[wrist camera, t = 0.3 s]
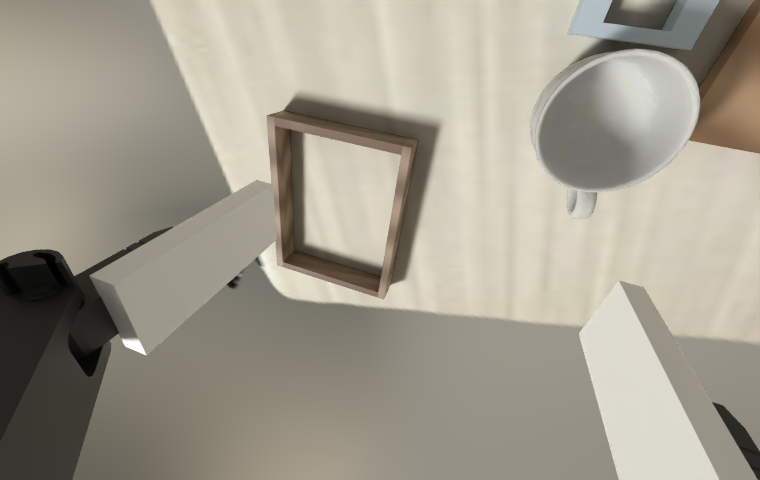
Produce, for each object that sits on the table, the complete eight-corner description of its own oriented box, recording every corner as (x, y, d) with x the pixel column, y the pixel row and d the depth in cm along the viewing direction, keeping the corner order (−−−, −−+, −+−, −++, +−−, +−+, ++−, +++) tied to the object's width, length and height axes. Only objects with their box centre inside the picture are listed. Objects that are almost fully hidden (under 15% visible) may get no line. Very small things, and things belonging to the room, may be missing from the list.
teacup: (553, 39, 29) (570, 37, 22) (686, 58, 27) (747, 63, 20) (502, 180, 37) (503, 209, 30) (602, 203, 35) (626, 239, 28)
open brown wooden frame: (282, 110, 41) (266, 115, 38) (418, 140, 37) (411, 148, 34) (289, 253, 53) (277, 265, 50) (390, 284, 50) (383, 299, 47)
